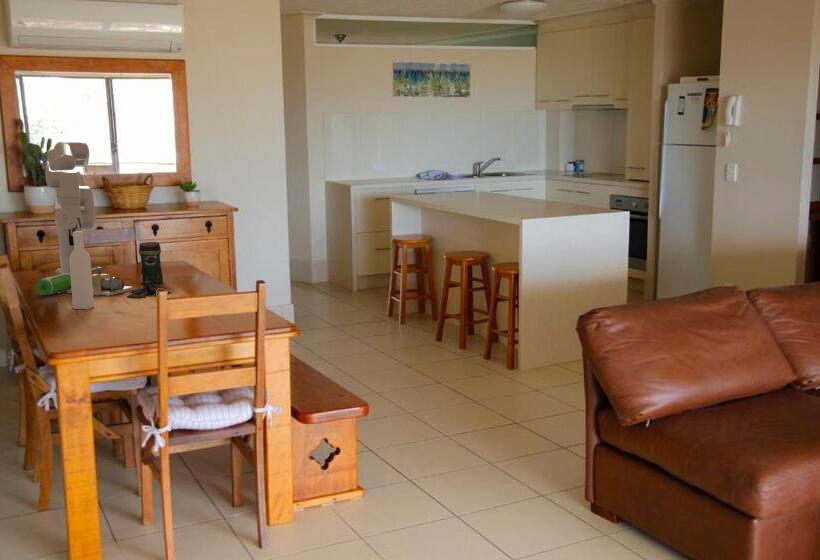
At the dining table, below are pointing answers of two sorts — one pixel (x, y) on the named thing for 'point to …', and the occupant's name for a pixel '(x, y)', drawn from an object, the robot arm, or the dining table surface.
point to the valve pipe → (106, 285)
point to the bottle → (81, 274)
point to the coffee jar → (150, 262)
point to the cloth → (145, 291)
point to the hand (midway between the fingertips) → (73, 245)
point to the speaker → (54, 284)
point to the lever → (97, 269)
